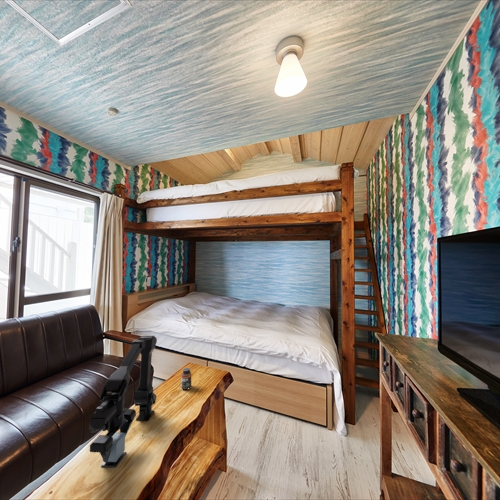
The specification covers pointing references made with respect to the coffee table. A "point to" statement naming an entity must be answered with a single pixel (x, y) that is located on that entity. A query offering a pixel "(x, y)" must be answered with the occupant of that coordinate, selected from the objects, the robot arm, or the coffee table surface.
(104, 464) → the post
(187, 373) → the supplement bottle
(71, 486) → the coffee table surface
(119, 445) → the grey block on base
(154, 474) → the coffee table surface
